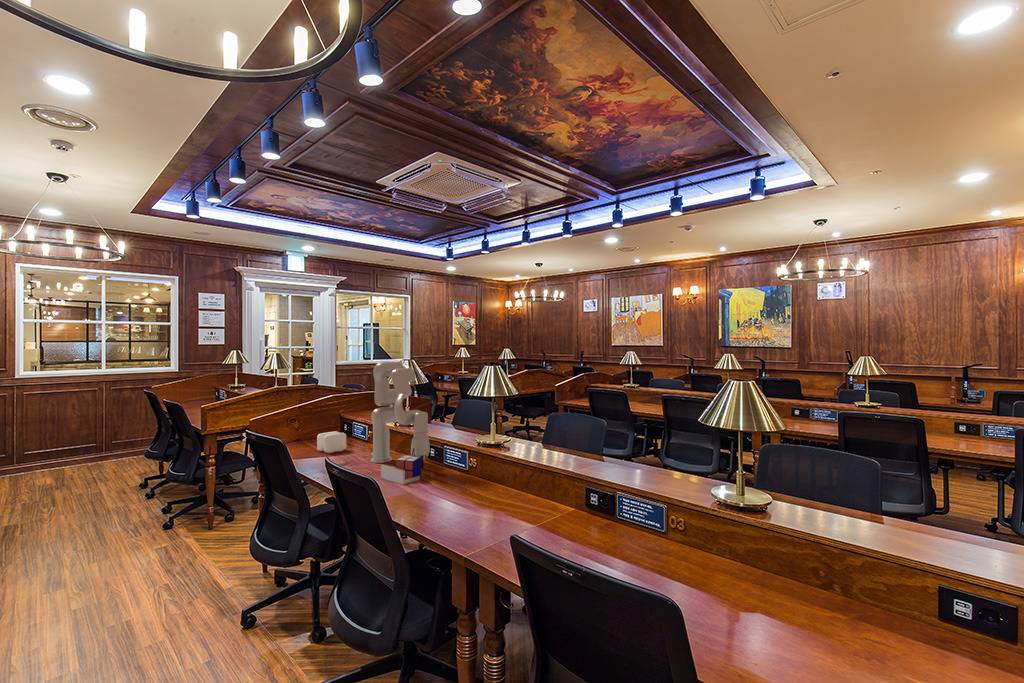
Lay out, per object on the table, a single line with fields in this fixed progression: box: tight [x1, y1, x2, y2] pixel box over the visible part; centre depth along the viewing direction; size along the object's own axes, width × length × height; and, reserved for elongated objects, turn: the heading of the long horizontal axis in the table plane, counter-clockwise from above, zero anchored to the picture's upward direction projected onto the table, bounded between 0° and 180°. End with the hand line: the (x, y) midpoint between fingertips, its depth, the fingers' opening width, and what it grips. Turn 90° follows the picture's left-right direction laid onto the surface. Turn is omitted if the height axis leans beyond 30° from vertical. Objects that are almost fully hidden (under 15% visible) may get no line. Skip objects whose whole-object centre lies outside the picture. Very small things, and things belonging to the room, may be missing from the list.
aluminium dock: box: [380, 463, 421, 486], centre depth 244 cm, size 18×11×7 cm, turn 51°
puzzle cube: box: [395, 455, 423, 479], centre depth 247 cm, size 10×10×10 cm
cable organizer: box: [316, 430, 347, 454], centre depth 303 cm, size 15×11×12 cm
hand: (420, 468), depth 254 cm, fingers closed
